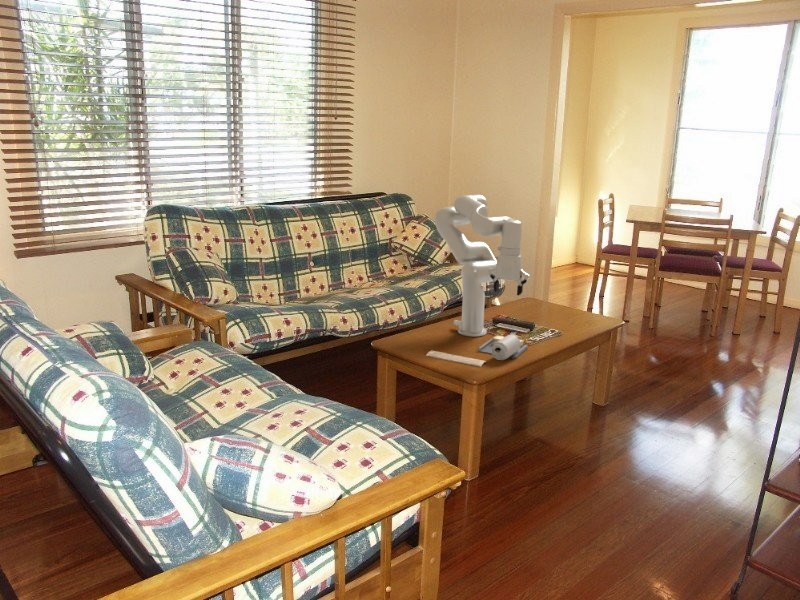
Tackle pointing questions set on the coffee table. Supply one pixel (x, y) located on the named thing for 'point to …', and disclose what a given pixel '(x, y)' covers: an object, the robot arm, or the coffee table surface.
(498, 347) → the can
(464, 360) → the newspaper
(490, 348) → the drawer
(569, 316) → the coffee table surface
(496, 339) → the ledge
